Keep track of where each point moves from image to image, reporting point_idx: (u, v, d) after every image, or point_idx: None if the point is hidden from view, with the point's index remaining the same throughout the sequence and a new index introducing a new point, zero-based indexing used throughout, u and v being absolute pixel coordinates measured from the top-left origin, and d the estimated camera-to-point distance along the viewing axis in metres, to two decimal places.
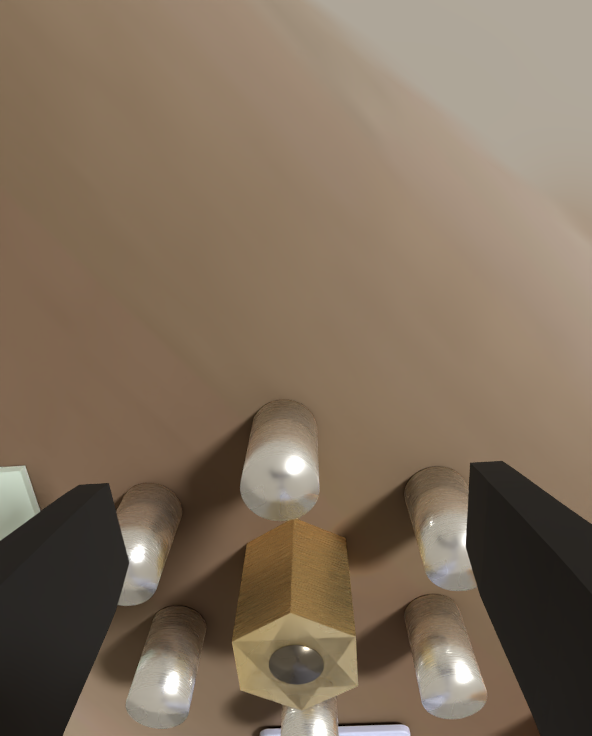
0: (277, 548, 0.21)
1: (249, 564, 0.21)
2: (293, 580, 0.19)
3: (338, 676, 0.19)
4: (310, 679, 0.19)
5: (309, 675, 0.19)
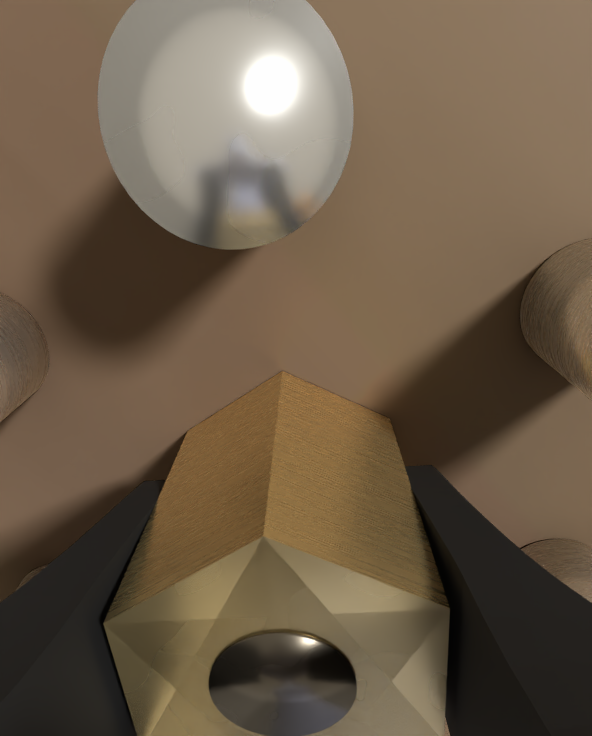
0: (244, 422, 0.09)
1: (183, 461, 0.10)
2: (276, 468, 0.07)
3: (394, 716, 0.07)
4: (319, 723, 0.07)
5: (317, 714, 0.07)
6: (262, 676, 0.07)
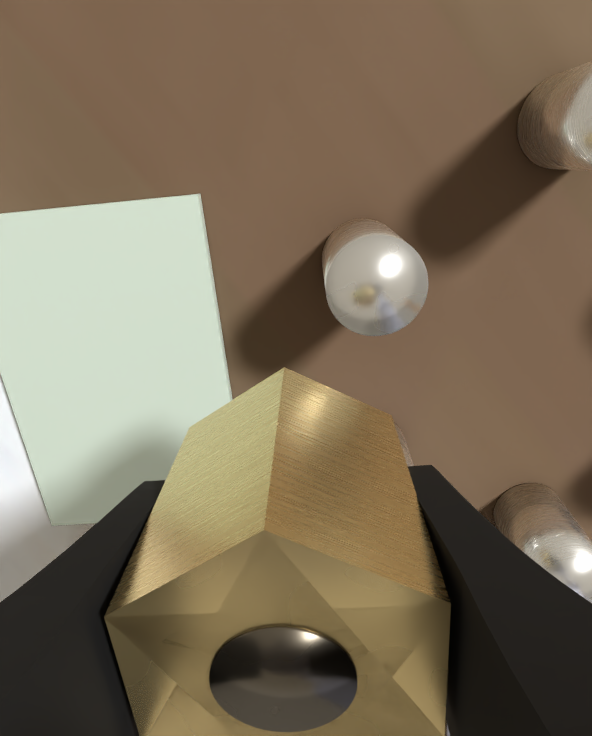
0: (246, 417, 0.09)
1: (184, 457, 0.10)
2: (277, 462, 0.07)
3: (395, 712, 0.07)
4: (319, 719, 0.07)
5: (318, 709, 0.07)
6: (262, 670, 0.07)
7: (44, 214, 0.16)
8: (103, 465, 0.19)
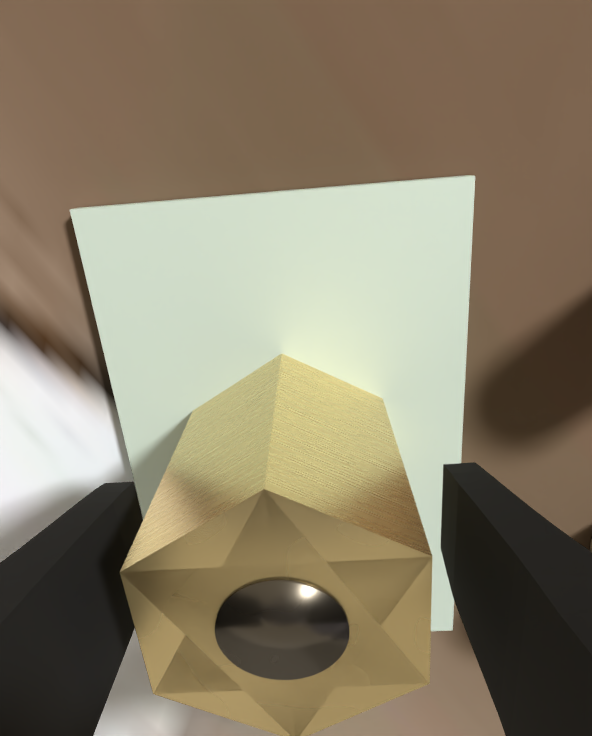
0: (246, 398, 0.10)
1: (189, 436, 0.10)
2: (275, 434, 0.08)
3: (383, 659, 0.08)
4: (315, 667, 0.08)
5: (314, 658, 0.08)
6: (263, 621, 0.07)
7: (223, 204, 0.10)
8: None
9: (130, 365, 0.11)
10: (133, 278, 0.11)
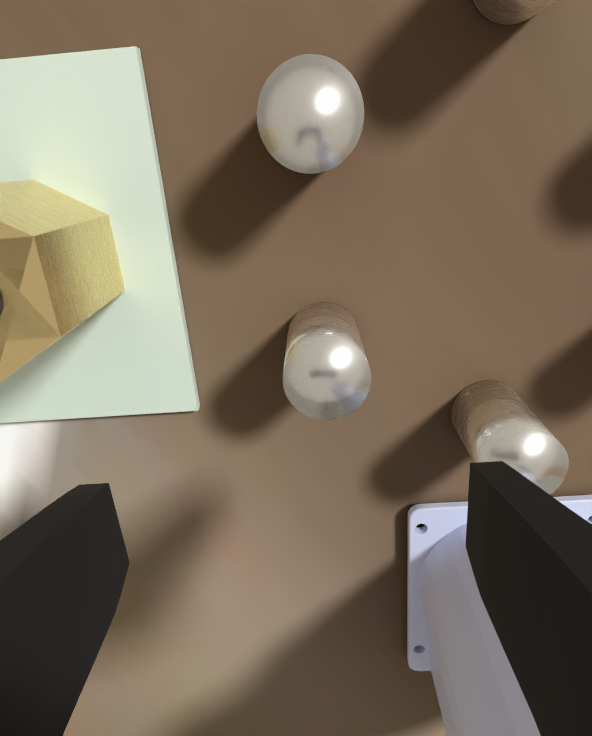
0: None
1: None
2: None
3: (28, 317, 0.13)
4: None
5: None
6: None
7: None
8: (46, 355, 0.19)
9: None
10: None
